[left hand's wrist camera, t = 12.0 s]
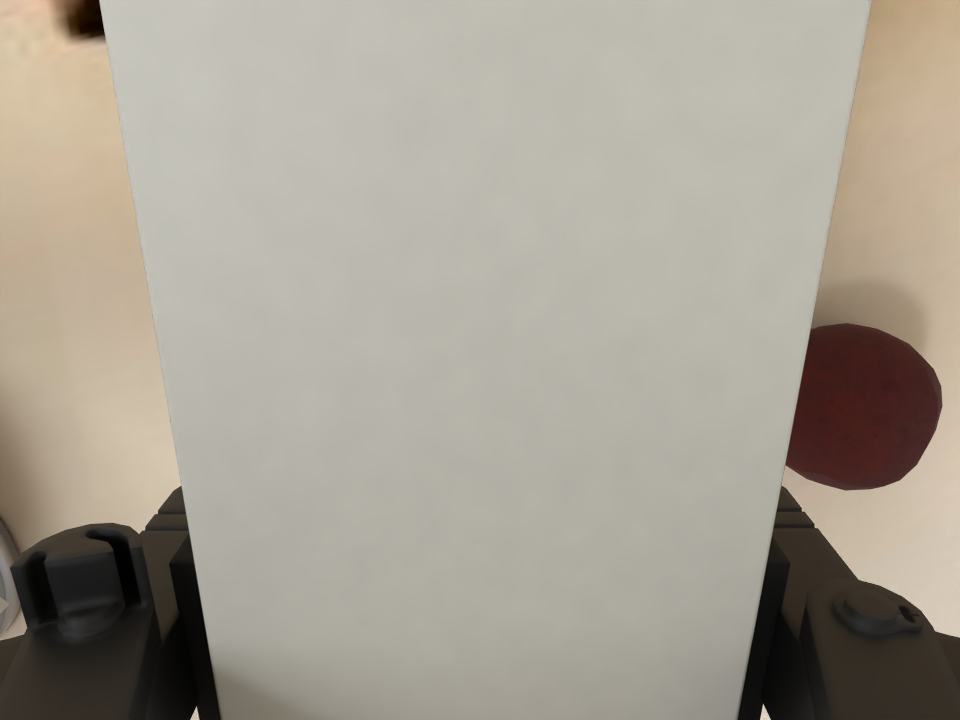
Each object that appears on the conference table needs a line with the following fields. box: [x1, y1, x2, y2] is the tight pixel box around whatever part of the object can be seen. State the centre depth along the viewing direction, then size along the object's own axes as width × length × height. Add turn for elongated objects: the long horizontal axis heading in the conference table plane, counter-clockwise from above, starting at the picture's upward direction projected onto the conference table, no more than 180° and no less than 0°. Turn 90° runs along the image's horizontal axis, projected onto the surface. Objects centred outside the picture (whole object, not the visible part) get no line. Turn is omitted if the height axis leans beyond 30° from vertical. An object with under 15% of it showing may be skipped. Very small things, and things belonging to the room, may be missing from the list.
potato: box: [785, 323, 942, 490], centre depth 31 cm, size 7×8×7 cm
